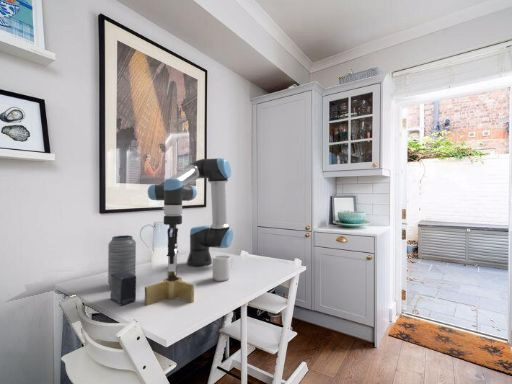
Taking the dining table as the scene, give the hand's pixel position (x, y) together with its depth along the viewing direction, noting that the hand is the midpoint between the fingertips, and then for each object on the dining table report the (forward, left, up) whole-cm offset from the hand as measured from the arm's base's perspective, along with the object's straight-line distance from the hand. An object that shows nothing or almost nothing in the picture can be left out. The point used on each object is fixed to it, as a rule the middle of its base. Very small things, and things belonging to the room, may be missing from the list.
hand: (172, 269), depth 115 cm
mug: (-20, +23, -11) cm, 33 cm away
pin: (0, 0, -3) cm, 3 cm away
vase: (-17, -25, -11) cm, 32 cm away
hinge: (+3, 0, -11) cm, 11 cm away
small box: (+2, -19, -11) cm, 22 cm away
